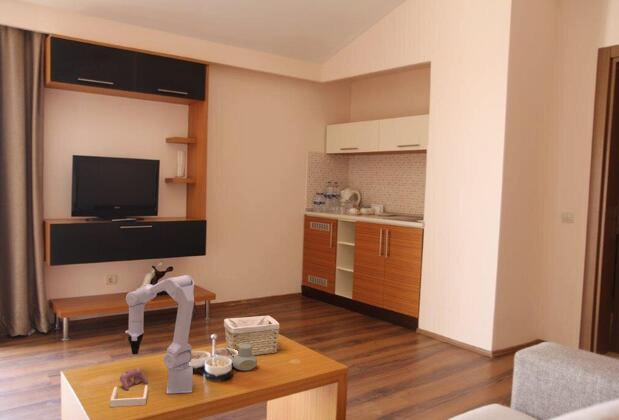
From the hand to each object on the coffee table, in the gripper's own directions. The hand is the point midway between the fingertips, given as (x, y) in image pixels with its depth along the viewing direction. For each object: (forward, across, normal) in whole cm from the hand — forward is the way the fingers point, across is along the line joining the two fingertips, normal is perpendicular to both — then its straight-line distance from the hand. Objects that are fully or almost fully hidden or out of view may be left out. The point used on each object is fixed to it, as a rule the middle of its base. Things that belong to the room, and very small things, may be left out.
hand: (135, 352), depth 214 cm
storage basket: (+10, -24, +50) cm, 57 cm away
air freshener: (+10, -2, +45) cm, 46 cm away
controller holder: (+9, +22, 0) cm, 24 cm away
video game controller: (+10, +10, 0) cm, 14 cm away
